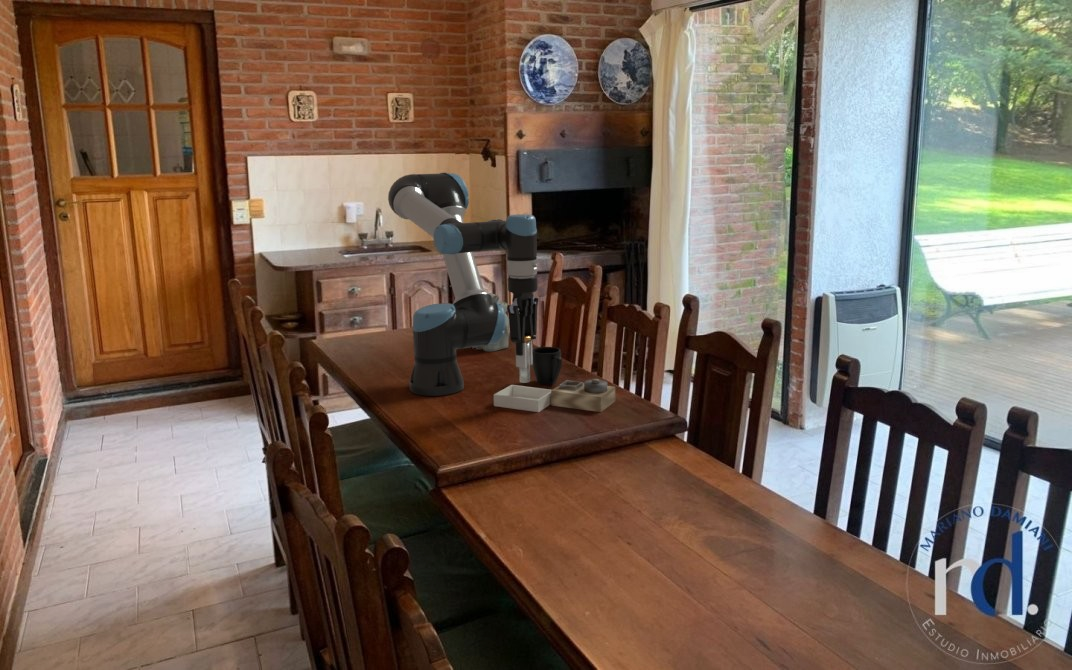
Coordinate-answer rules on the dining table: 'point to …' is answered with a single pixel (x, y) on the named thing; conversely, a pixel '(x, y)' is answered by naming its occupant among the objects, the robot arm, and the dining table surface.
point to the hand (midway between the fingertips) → (524, 365)
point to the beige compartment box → (583, 395)
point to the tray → (523, 398)
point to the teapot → (504, 340)
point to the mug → (547, 364)
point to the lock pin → (525, 372)
